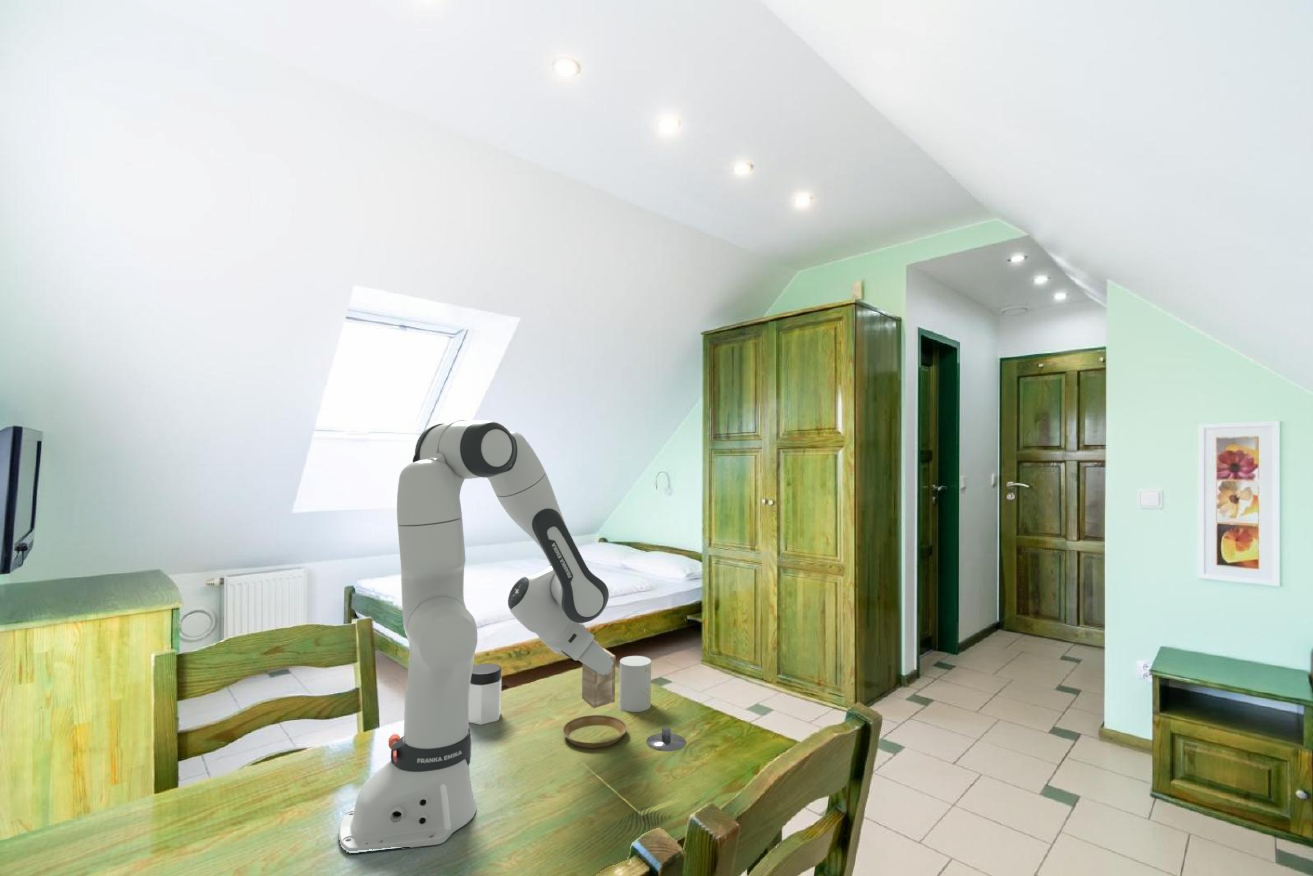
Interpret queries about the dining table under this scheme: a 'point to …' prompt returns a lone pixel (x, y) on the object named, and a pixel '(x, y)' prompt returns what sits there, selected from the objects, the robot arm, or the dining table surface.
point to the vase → (598, 685)
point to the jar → (485, 694)
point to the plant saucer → (594, 720)
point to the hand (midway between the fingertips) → (601, 665)
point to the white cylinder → (635, 684)
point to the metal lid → (666, 741)
